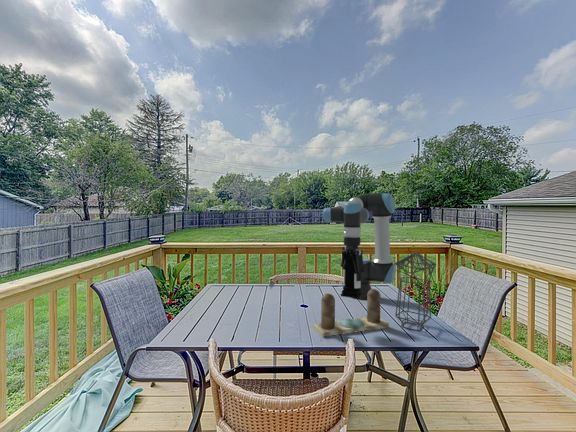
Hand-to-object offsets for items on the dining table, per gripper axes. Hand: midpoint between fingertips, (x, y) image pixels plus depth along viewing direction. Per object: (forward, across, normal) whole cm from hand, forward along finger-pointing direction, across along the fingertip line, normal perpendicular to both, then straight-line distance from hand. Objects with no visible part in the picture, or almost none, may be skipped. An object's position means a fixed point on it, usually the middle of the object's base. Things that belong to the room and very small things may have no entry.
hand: (351, 285), depth 139 cm
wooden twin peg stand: (+20, 0, 0) cm, 20 cm away
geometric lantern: (+20, +8, +29) cm, 36 cm away
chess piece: (+5, 0, 0) cm, 5 cm away
